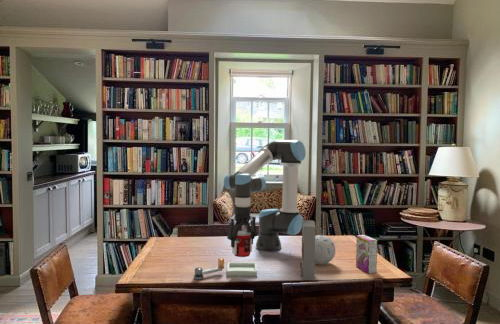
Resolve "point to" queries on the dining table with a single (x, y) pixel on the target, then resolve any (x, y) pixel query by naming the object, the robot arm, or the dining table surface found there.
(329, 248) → the puzzle ball
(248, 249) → the canned food
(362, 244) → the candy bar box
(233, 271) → the tray
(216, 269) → the crank
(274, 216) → the robot arm
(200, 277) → the crank pedestal
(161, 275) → the dining table surface
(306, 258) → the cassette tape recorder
